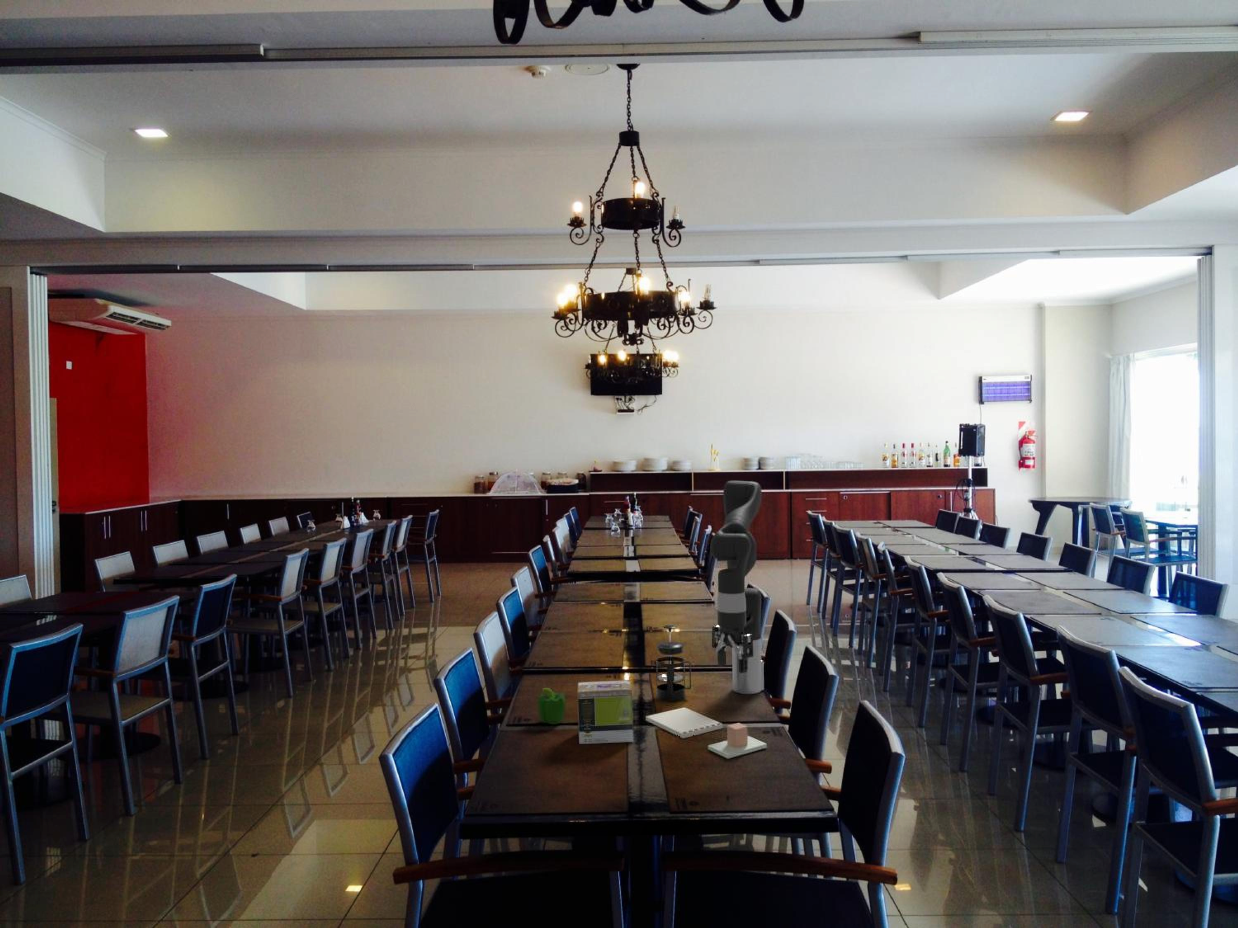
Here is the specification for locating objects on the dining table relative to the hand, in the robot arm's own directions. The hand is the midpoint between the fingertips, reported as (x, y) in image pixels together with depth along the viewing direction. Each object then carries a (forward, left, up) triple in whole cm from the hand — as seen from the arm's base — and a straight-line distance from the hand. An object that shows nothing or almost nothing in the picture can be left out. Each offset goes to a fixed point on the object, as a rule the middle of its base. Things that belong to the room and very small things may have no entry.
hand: (732, 668), depth 230 cm
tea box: (+24, -26, -21) cm, 41 cm away
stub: (0, +2, -21) cm, 21 cm away
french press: (-12, -44, -21) cm, 50 cm away
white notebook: (0, -22, -21) cm, 31 cm away
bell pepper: (+30, -46, -21) cm, 59 cm away
